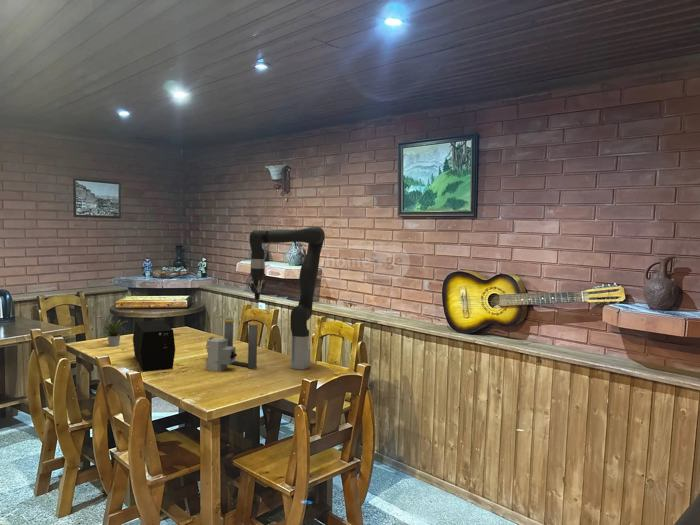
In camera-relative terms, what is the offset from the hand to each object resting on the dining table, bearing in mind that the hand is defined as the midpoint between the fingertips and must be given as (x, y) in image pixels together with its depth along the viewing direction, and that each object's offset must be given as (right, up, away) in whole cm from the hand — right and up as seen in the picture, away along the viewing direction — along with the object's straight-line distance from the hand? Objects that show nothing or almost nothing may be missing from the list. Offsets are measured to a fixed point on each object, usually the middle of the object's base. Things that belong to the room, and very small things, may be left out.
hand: (257, 299), depth 267 cm
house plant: (-91, -30, +32) cm, 101 cm away
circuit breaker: (-16, -35, -12) cm, 40 cm away
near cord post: (-1, -35, -7) cm, 36 cm away
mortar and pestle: (-24, -34, +7) cm, 42 cm away
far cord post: (-16, -34, 0) cm, 38 cm away
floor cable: (-8, -35, -4) cm, 36 cm away
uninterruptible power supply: (-54, -34, -5) cm, 64 cm away
